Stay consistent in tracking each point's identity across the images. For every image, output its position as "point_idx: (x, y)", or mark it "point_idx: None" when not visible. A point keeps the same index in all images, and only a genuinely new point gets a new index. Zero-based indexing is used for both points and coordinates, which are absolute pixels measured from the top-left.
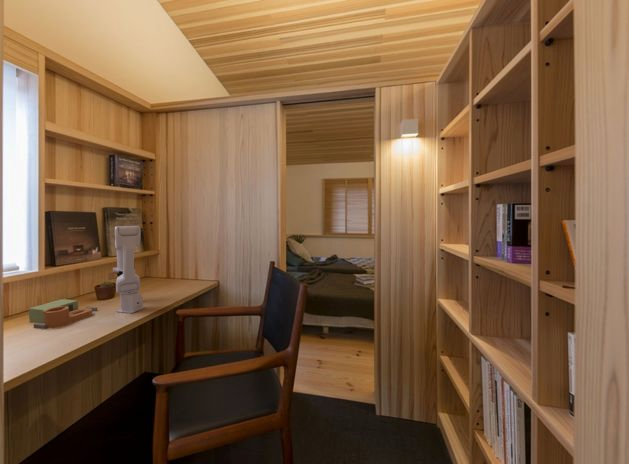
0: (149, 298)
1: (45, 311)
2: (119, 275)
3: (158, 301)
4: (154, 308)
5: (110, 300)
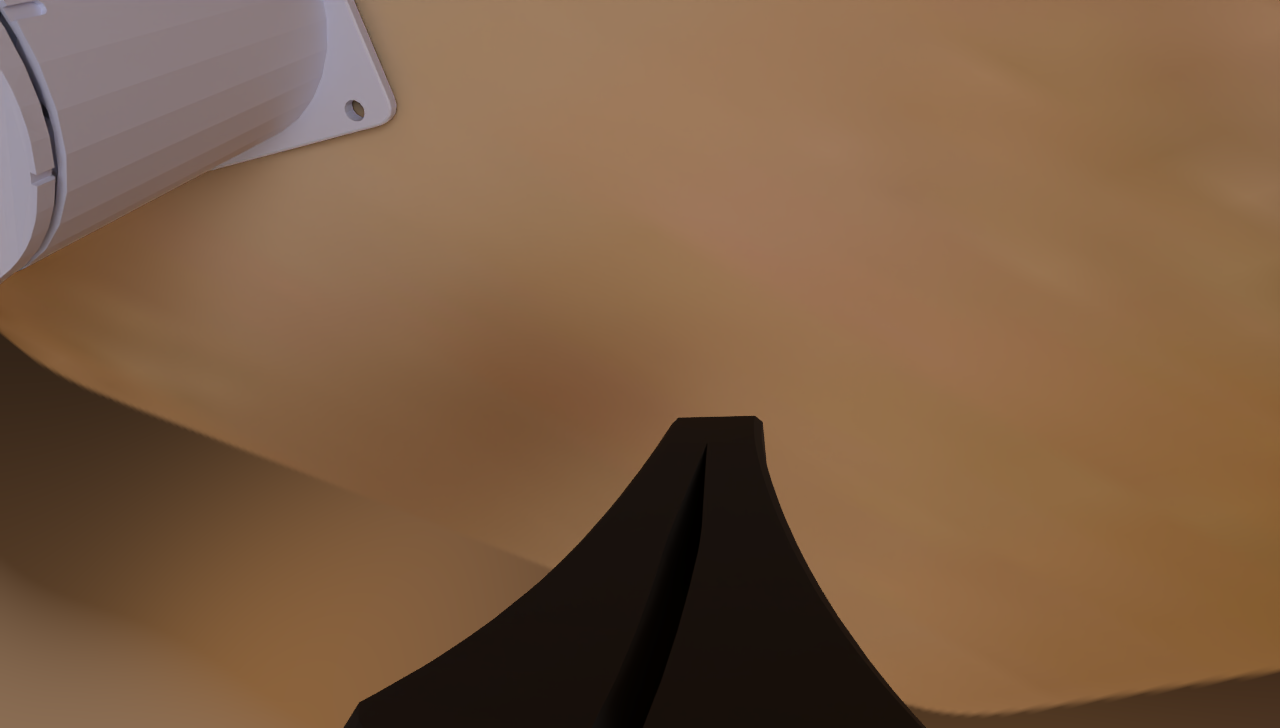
0: None
1: None
2: (654, 699)
3: (344, 472)
4: None
5: (1273, 176)
